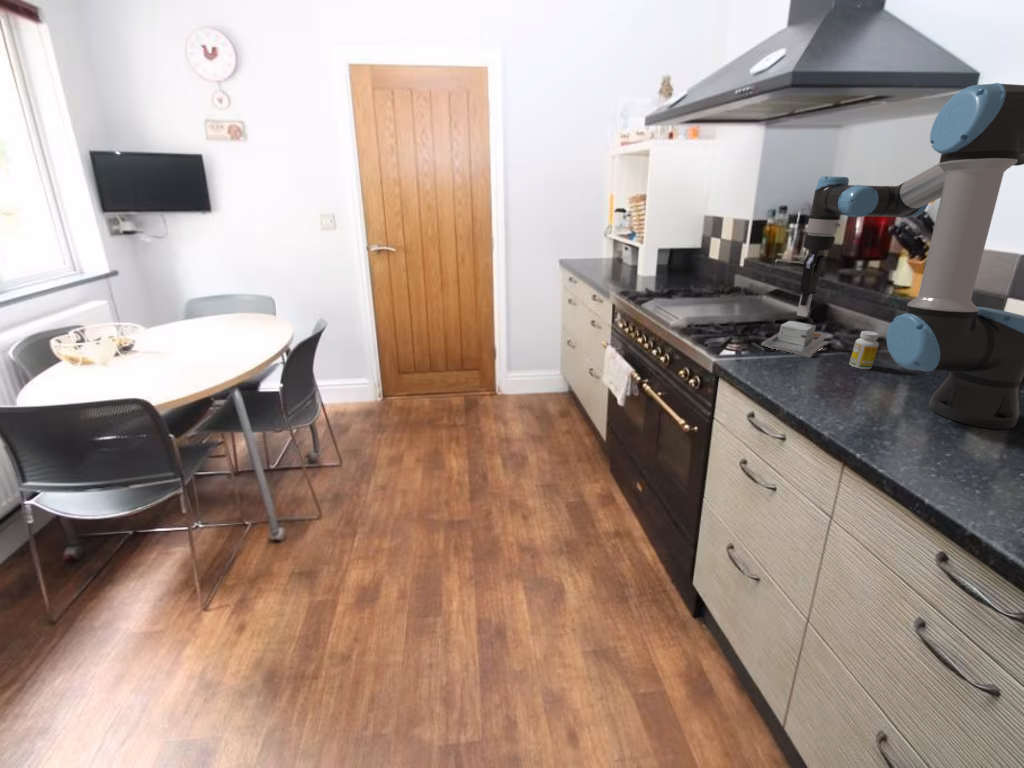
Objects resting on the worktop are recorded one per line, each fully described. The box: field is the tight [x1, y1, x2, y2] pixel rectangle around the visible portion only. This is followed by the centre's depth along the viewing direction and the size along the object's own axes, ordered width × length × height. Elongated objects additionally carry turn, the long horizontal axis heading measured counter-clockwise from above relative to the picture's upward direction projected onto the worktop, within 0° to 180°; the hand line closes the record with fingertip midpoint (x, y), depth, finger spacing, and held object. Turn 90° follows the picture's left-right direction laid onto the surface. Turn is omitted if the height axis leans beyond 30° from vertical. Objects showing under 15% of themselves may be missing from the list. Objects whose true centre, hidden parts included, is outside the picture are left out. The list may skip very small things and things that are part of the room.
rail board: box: [760, 332, 827, 359], centre depth 164 cm, size 20×14×2 cm
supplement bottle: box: [848, 330, 879, 370], centre depth 146 cm, size 5×5×10 cm
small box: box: [778, 320, 817, 346], centre depth 164 cm, size 8×8×5 cm
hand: (801, 315), depth 161 cm, fingers closed
